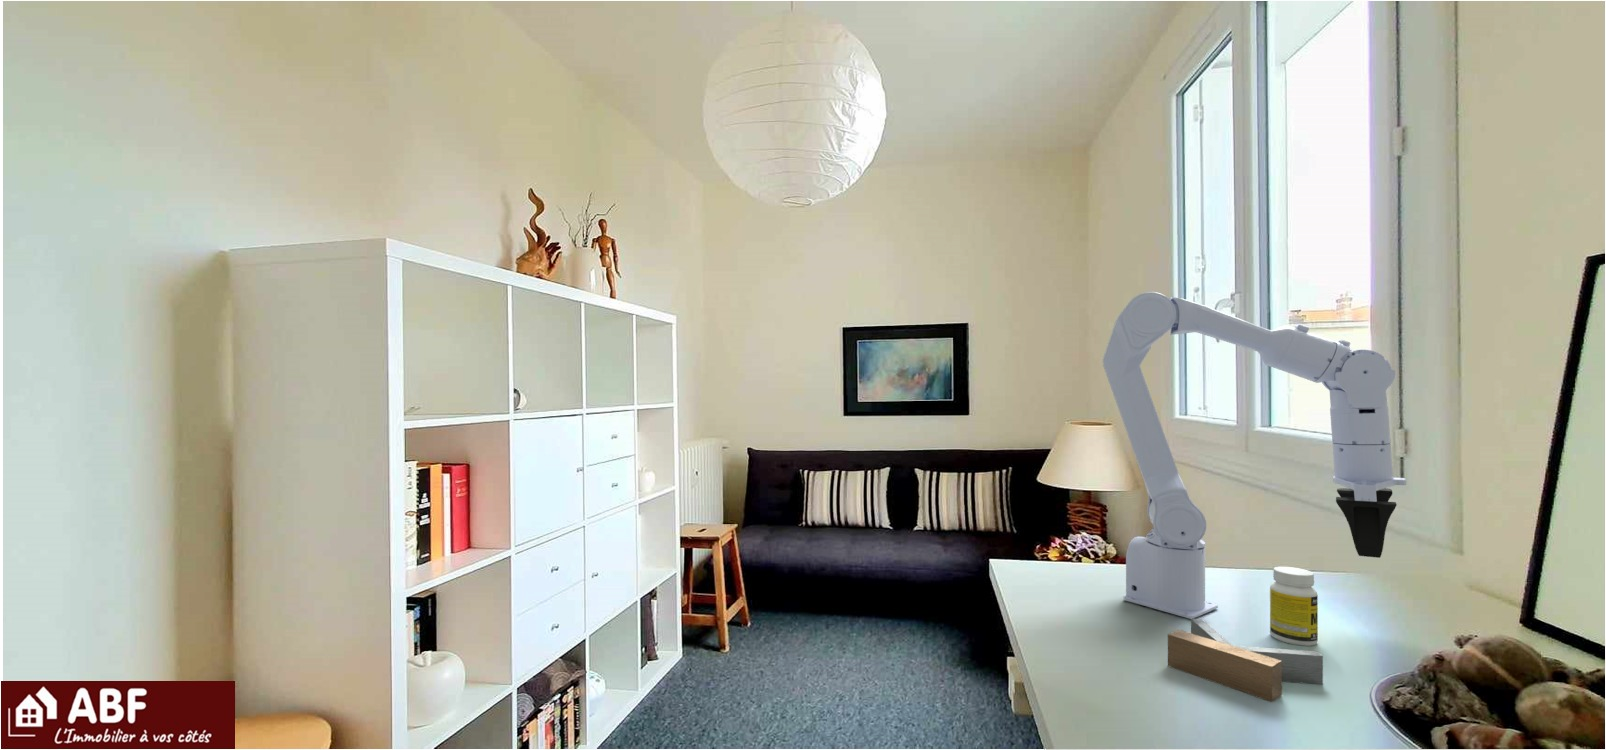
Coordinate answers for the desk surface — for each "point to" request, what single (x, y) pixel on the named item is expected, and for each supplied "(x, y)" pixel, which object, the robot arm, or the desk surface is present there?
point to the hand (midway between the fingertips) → (1368, 549)
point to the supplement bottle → (1294, 606)
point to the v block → (1241, 662)
